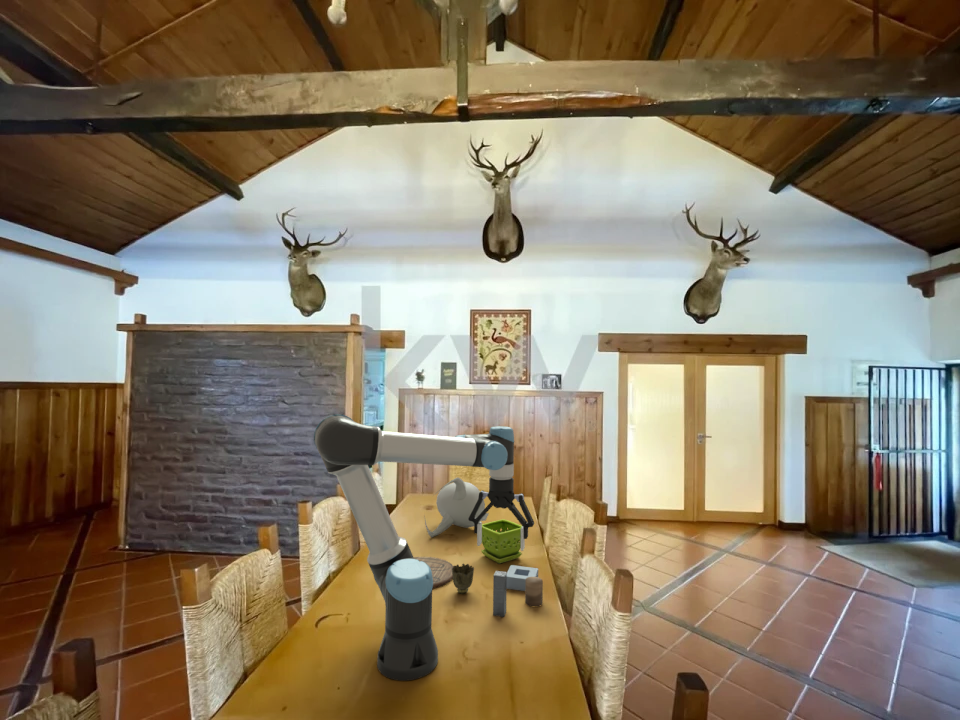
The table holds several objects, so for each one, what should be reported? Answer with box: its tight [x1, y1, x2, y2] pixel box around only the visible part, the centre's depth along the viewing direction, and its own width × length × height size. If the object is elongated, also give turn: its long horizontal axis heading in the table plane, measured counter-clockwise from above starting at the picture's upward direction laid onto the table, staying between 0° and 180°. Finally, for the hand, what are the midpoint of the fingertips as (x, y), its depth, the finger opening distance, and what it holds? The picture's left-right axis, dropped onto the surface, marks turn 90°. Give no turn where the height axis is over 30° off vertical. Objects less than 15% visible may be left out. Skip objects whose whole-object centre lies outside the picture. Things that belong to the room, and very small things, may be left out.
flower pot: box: [481, 518, 523, 565], centre depth 185 cm, size 14×14×13 cm
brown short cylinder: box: [524, 576, 544, 607], centre depth 148 cm, size 6×6×7 cm
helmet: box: [423, 477, 489, 538], centre depth 215 cm, size 24×30×35 cm
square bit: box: [492, 570, 508, 618], centre depth 141 cm, size 3×3×12 cm
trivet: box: [413, 556, 454, 589], centre depth 168 cm, size 25×25×2 cm
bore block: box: [506, 564, 539, 592], centre depth 161 cm, size 10×10×4 cm
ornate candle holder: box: [452, 563, 475, 595], centre depth 155 cm, size 8×7×8 cm
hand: (500, 546), depth 142 cm, fingers open, 13 cm apart
